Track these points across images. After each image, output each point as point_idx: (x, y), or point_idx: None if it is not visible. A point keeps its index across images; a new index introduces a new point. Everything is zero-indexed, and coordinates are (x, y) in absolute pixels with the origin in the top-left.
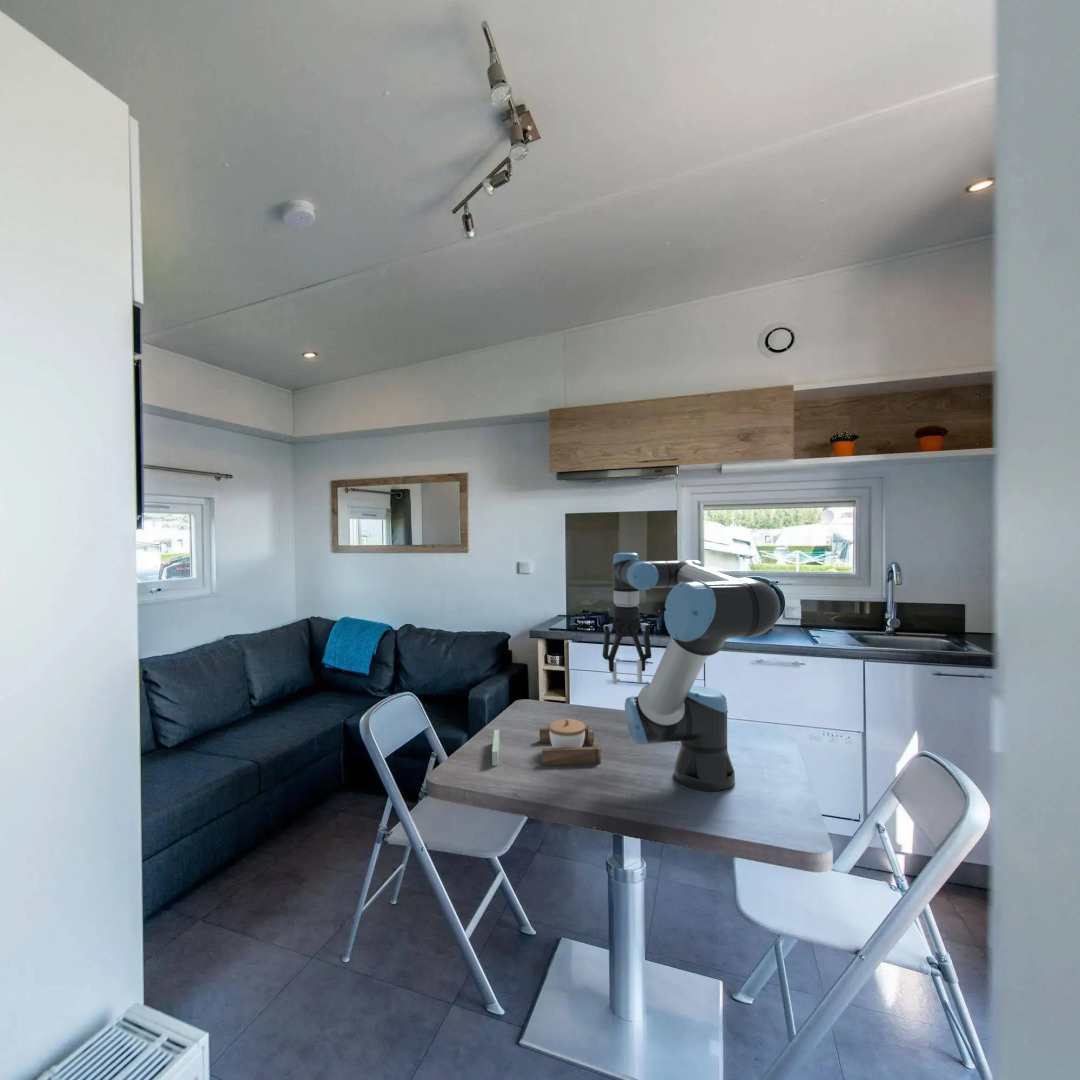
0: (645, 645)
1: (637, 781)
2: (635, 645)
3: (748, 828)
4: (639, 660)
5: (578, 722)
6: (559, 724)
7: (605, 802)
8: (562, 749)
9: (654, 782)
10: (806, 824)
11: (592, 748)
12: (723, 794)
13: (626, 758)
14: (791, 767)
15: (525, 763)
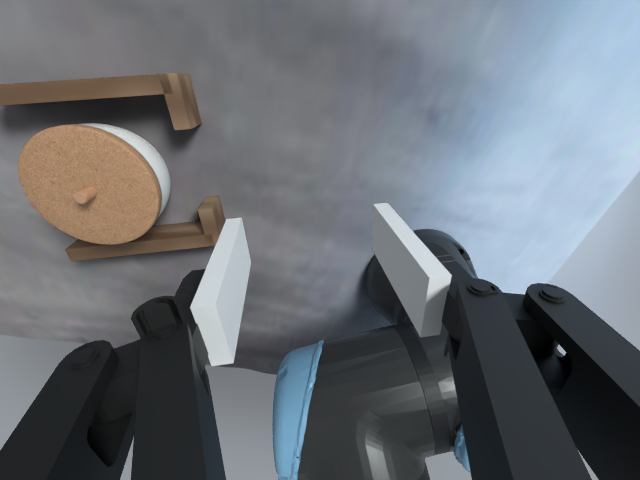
0: (603, 443)
1: (296, 291)
2: (488, 437)
3: None
4: (430, 318)
5: (126, 168)
6: (60, 188)
7: (240, 347)
8: (123, 252)
9: (325, 293)
10: None
11: (200, 243)
12: None
13: (286, 204)
14: (581, 231)
15: (45, 237)
